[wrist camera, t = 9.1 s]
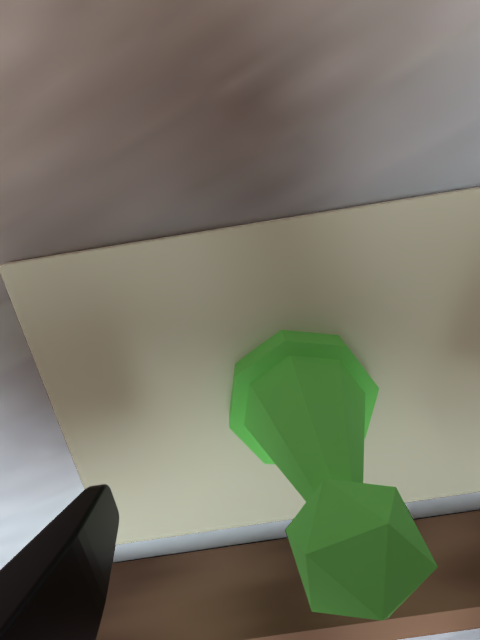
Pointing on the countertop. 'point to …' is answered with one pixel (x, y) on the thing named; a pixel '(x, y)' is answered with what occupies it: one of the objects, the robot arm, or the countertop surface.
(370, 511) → the game piece
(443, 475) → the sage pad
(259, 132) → the countertop surface
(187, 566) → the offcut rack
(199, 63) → the countertop surface
